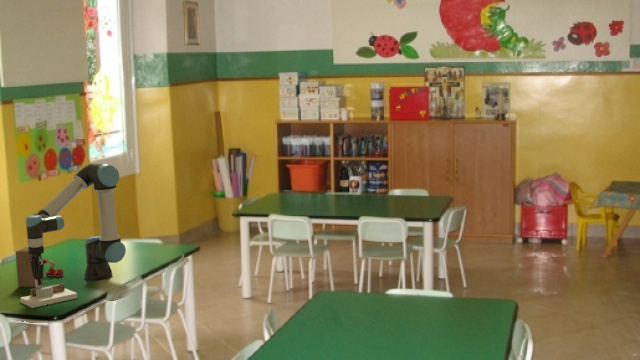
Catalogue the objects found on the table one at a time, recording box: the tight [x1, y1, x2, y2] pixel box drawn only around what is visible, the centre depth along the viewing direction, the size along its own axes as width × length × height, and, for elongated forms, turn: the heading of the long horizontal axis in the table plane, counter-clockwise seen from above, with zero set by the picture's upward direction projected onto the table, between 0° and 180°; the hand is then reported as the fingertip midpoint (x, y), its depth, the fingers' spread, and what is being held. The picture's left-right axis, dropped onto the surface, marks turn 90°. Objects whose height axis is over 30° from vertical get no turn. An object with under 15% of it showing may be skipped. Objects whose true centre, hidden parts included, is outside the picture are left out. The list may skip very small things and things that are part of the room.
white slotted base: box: [20, 286, 79, 309], centre depth 436 cm, size 24×14×6 cm, turn 131°
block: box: [15, 246, 44, 288], centre depth 467 cm, size 10×10×20 cm
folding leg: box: [29, 282, 65, 296], centre depth 441 cm, size 17×3×3 cm, turn 127°
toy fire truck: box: [42, 258, 65, 278], centre depth 486 cm, size 3×14×10 cm, turn 71°
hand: (39, 290), depth 440 cm, fingers closed
